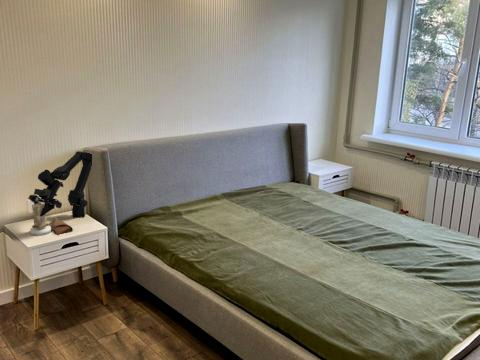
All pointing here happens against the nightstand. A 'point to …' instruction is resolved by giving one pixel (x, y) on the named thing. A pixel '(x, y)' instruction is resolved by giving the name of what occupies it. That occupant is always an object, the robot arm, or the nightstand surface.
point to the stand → (40, 231)
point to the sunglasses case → (60, 227)
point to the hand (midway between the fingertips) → (37, 215)
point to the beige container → (38, 220)
